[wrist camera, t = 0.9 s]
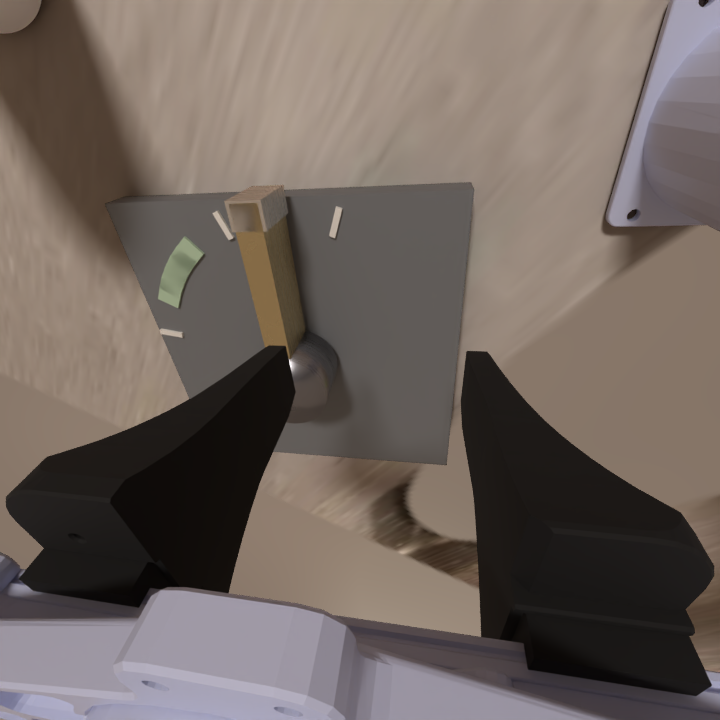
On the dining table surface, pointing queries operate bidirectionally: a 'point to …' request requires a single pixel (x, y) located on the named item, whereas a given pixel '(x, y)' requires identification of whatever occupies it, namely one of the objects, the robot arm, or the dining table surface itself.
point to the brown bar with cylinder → (281, 295)
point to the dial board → (322, 304)
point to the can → (17, 14)
